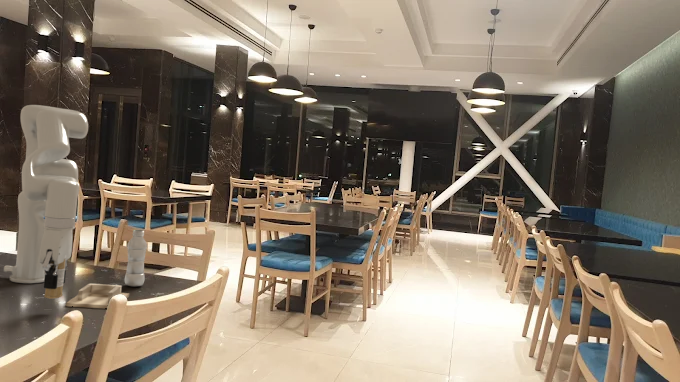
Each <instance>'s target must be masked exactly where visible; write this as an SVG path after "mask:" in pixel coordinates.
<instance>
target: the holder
mask: <svg viewBox="0 0 680 382" xmlns="http://www.w3.org/2000/svg"><path fill="white" fill-rule="evenodd" d="M122 287H123V286H122V285H119V284H104V283H103V284H102V283H88V284H86V285H84V286H83V287H82V288H80V289H79V290H78V292H77V293H78V294H77V295H76V296H75V297H73V298H71V299H69V300H68V301H67V302H66V303H65V307H70V308H71V307H72V306H73V308H88V309H89V308H92V309H105V308H107V305H108V302H109V300H110V298H111V297H113V296H114V295H117V294H123V295H125V296H126V297H127V299H128V298H129V297H130V293H129V292H128V293H127V292H122Z"/></svg>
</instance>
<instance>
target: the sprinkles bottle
mask: <svg viewBox="0 0 680 382" xmlns="http://www.w3.org/2000/svg"><path fill="white" fill-rule="evenodd" d="M64 258H66V256H65V257H64ZM51 263H52V264H55V263H54V262H53V261H51ZM51 267H53V269H54V266H51ZM64 272H65V259H64V261H63V262H62V263H60V264H58V269H57V274H56V275H58V281H57V288H56V289H47V288H44V289H45V291H44V295H43V297H44V298H46V299H50V300H51V299H59V298H62V297H63V288H64V287H63V286H64V284H63V282H64Z"/></svg>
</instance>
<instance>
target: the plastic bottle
mask: <svg viewBox="0 0 680 382" xmlns="http://www.w3.org/2000/svg"><path fill="white" fill-rule="evenodd" d="M131 235H132V237H131V238H130V239H129V241H128V243H127V266H126V273H125V274H124V284H125V285H126V286H128V287H134V288H135V287H141V286H143V285H144V282H145V278H146V277H145V259H146V252H147V249H148V243H147V241H146V239H145V238H144V236H145V230H143V229H133V231H132V234H131Z"/></svg>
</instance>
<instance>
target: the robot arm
mask: <svg viewBox="0 0 680 382" xmlns="http://www.w3.org/2000/svg"><path fill="white" fill-rule="evenodd" d="M20 125H21V129H22V132H23V136H24V138H25V142H26V144H25V145H26V149H25V151H26V152H25V160H24V162H23V164H22V167H21V168H22V169H21V190H22V191H21V192H20V193H19V194H18V197H17V207H18V237H17V250H16V263H15V265H14V266H13V265H5V266H3V272H4V273H11V275H10V276H9V281H10V282H13V283H19V284H40V283H43V288H44V289H46V288H47V289H56V288H57V281H58V275H56V274H57V269H58V264H60V263H62V262H63V261H64V259H65V272H64V282H63V285H64V284H65V283H66V274H67V273H66V272H67V268H68V265H67V263H68V261H69V259H70V258H71V256H72V251H73V230H75V228H76V227H75V226H76V219H77V207H78V197H79V194H80V184H79V182H78V181H79V168H78V165H77V163H76V162H75V161H73V160H71V159H65V158H67V156H68V155H69V154H70V152H71V147H70V138H73V139H84V138H86V137H87V134H88V132H89V122H88V118H87V117H86V115H85V114H84V113H83V112H80V111H78V110H75V109H68V108H61V107H54V106H49V105H39V104H29V105H25V106H24V107H22V108H21V110H20ZM65 256H66V258H64V257H65ZM51 261H53V262H54V263H55V264H52V263H51ZM51 266H54V269H53V267H51Z"/></svg>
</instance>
